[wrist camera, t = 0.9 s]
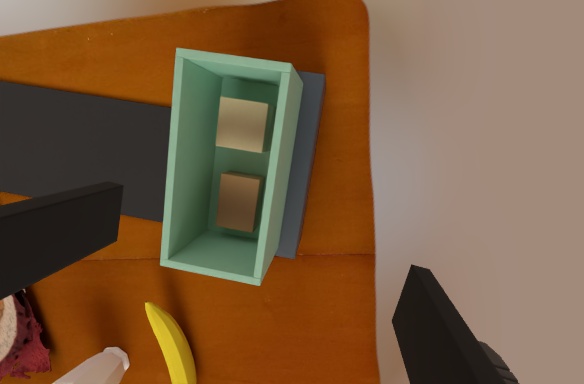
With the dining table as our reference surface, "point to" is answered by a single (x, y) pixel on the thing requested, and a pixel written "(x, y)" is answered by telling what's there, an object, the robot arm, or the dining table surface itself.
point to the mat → (83, 146)
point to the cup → (99, 369)
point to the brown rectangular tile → (240, 201)
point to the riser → (302, 162)
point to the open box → (224, 164)
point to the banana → (172, 345)
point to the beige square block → (245, 125)
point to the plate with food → (20, 340)
